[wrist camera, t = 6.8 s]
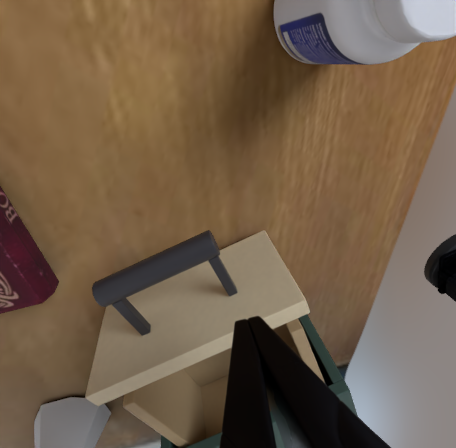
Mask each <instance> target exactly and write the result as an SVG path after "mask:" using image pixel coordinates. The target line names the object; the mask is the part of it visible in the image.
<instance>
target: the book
mask: <svg viewBox="0 0 456 448" xmlns="http://www.w3.org/2000/svg"><path fill="white" fill-rule="evenodd" d="M58 283H59V281H58V279H57V278H56V276H55V274H54V273H53V271H52V269H51V268H50V266H49V265H48V263H47V261H46V260H45V258H44V256H43V255H42V253H41V252H40V250H39V248H38V247H37V245H36V243H35V242H34V240H33V239H32V237H31V235H30V234H29V232H28V230H27V229H26V227H25V226H24V224H23V222H22V221H21V219H20V217H19V216H18V214H17V213H16V211H15V209H14V208H13V206H12V204H11V203H10V201H9V200H8V198H7V196H6V195H5V193H4V191H3V190H2V188H1V187H0V314H1V313H5V312H9V311H13V310H17V309H21V308H25V307H28V306H32V305H36V304H40V303H43V302H44V301H45V300H46V299H48V298H49V297H50V296H51V295H52V294H53V293H54V292H55V290H56V288H57V285H58Z"/></svg>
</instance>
